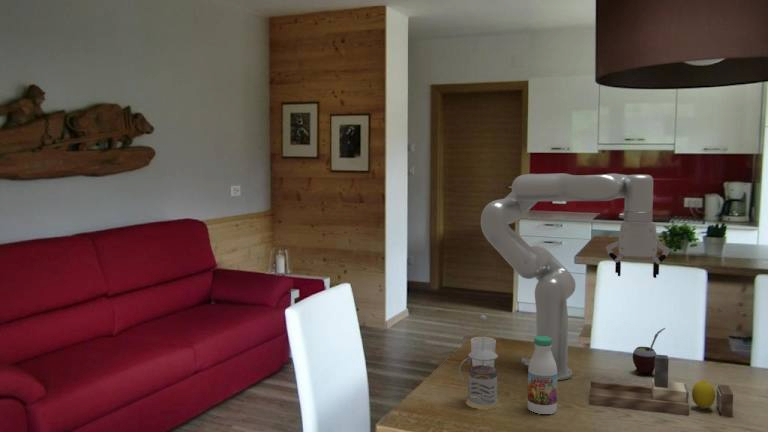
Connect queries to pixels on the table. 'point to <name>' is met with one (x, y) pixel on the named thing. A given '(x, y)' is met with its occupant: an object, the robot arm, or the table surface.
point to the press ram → (667, 383)
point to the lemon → (703, 394)
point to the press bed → (632, 398)
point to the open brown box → (724, 400)
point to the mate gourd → (645, 359)
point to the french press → (482, 370)
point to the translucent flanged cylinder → (478, 344)
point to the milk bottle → (542, 378)
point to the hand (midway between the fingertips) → (636, 276)
